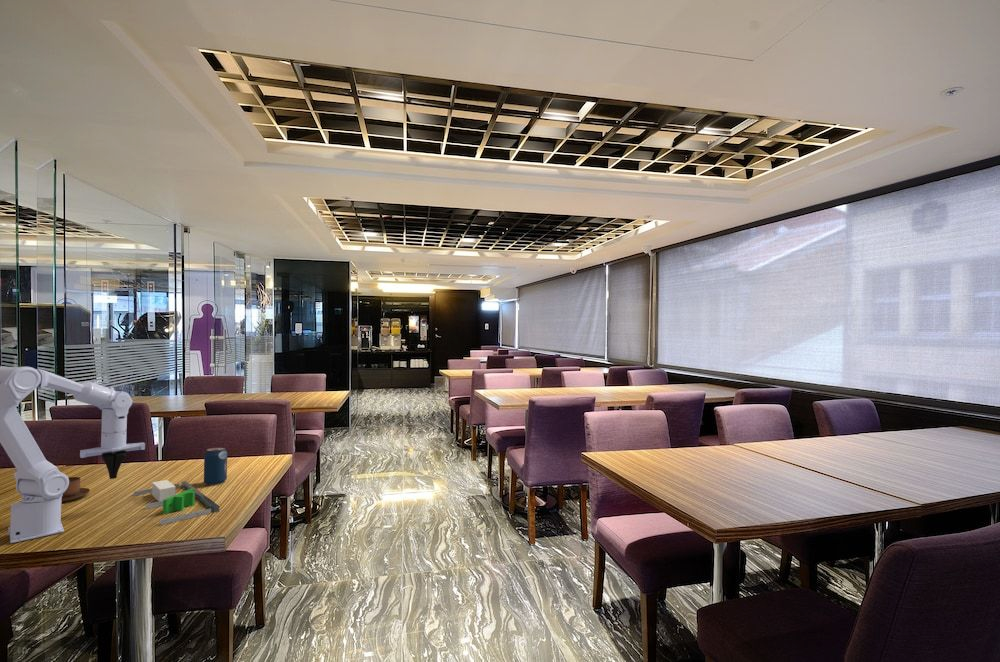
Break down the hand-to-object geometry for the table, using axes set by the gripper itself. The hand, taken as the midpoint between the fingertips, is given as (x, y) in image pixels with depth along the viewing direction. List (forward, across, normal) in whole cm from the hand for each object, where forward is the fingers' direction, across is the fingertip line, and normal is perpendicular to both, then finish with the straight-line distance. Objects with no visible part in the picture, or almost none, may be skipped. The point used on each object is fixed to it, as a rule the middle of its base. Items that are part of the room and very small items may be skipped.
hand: (112, 477), depth 134 cm
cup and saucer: (+10, -9, +24) cm, 27 cm away
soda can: (+10, +29, +8) cm, 32 cm away
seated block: (+9, +13, +3) cm, 16 cm away
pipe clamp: (+10, +14, -13) cm, 22 cm away
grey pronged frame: (+9, +14, -6) cm, 18 cm away
